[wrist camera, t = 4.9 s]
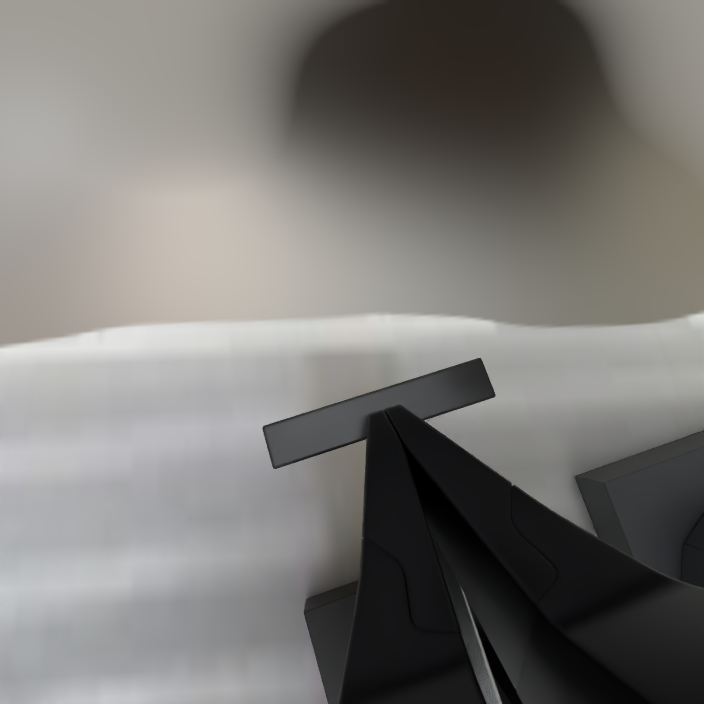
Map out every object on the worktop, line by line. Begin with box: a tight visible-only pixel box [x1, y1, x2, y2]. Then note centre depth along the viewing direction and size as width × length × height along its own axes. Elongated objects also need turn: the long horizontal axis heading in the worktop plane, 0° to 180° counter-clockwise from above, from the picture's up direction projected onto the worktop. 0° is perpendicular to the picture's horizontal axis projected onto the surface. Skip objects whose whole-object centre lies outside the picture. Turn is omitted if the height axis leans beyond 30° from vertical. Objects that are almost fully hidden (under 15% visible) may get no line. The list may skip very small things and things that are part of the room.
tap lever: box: [263, 358, 502, 704], centre depth 9 cm, size 14×6×2 cm, turn 18°
